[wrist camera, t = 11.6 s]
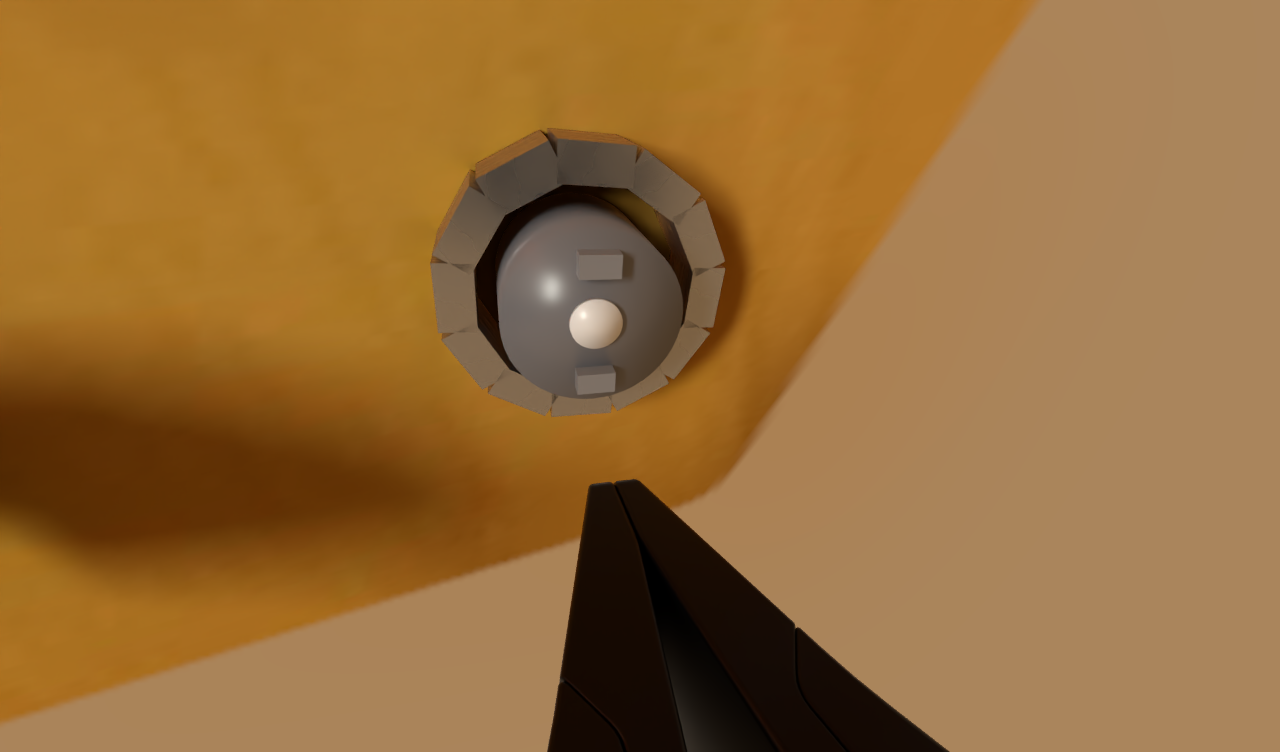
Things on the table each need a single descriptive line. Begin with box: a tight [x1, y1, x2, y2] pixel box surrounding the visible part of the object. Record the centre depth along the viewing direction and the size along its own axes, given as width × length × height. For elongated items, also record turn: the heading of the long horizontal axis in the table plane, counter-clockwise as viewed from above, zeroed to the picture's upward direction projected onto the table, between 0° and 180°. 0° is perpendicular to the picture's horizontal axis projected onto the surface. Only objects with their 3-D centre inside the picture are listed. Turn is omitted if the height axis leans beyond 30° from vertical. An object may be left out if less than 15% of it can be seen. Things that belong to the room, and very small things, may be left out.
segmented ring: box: [430, 128, 725, 417], centre depth 17 cm, size 10×10×2 cm
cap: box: [495, 193, 683, 399], centre depth 16 cm, size 6×6×5 cm
